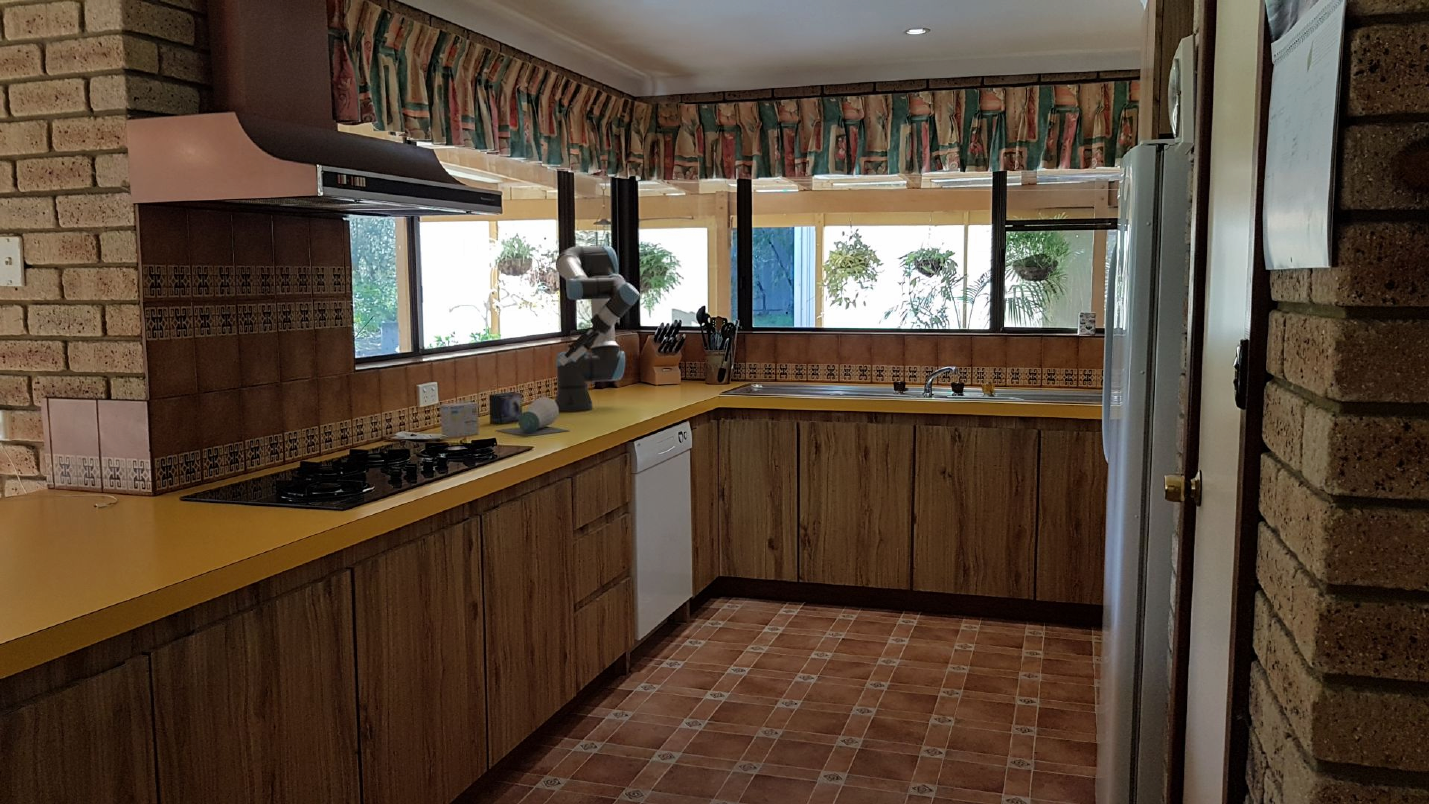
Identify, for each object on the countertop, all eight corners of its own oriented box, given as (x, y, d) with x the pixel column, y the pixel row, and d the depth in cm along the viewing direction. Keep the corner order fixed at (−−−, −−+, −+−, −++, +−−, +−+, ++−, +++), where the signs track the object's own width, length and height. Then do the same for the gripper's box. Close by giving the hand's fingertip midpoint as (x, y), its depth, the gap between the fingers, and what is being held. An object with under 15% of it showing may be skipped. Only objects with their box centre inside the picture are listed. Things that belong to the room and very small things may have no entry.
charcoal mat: (538, 425, 376) (538, 424, 376) (569, 431, 361) (569, 430, 361) (495, 431, 365) (495, 430, 365) (525, 436, 350) (525, 435, 350)
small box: (501, 424, 381) (500, 395, 380) (489, 423, 385) (487, 394, 384) (523, 421, 389) (522, 392, 388) (511, 420, 393) (510, 391, 392)
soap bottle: (564, 406, 372) (543, 421, 350) (551, 429, 375) (529, 445, 353) (540, 391, 373) (518, 405, 351) (527, 413, 375) (504, 429, 353)
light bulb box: (468, 432, 363) (467, 401, 362) (479, 434, 358) (478, 402, 357) (440, 436, 356) (439, 404, 354) (451, 438, 351) (449, 405, 349)
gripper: (602, 329, 374) (563, 371, 378) (621, 324, 398) (583, 364, 403) (587, 313, 374) (548, 356, 379) (607, 310, 398) (569, 350, 403)
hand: (566, 361), depth 391 cm, fingers open, 13 cm apart
